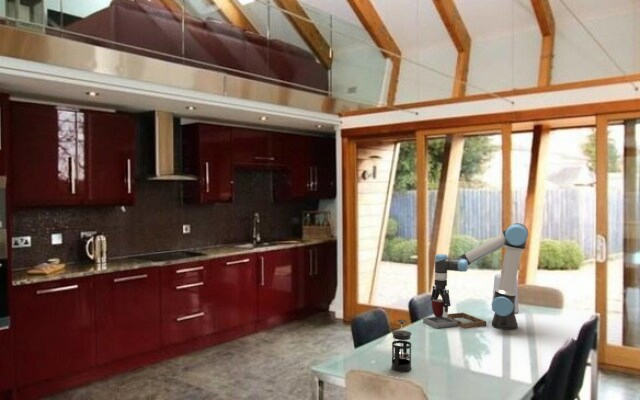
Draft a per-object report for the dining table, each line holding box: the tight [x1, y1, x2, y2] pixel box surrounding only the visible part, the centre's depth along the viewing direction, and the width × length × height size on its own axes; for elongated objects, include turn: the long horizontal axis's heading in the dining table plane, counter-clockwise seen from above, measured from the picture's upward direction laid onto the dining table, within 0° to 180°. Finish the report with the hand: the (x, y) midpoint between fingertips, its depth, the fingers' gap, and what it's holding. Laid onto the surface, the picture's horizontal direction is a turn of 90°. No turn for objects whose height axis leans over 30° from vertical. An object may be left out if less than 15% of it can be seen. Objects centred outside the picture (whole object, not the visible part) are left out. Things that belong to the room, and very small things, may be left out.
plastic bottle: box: [491, 270, 520, 315], centre depth 346 cm, size 15×15×28 cm
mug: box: [431, 298, 444, 317], centre depth 311 cm, size 11×8×10 cm
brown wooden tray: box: [442, 312, 487, 330], centre depth 317 cm, size 23×16×3 cm
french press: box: [390, 318, 413, 373], centre depth 235 cm, size 12×9×23 cm
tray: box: [422, 316, 459, 330], centre depth 311 cm, size 15×15×3 cm
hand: (440, 314), depth 311 cm, fingers closed on mug, 10 cm apart
